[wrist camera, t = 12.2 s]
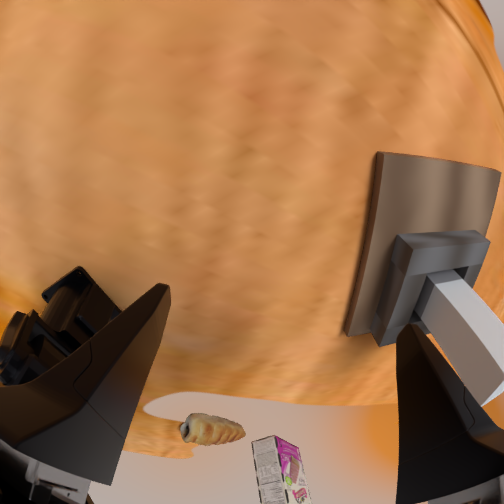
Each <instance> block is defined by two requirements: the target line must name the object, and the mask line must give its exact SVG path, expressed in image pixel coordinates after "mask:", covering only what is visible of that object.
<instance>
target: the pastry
mask: <svg viewBox="0 0 504 504" xmlns="http://www.w3.org/2000/svg"><path fill="white" fill-rule="evenodd" d="M180 431H181V436H182V439H183V441H184V442H185V443H189V442H192V443H196V444H199V445H205V446H210V445H212V444H215V445H219V444H225V443H227V442H233V441H236V440H239V439H241V438H243V437H244V436H245V435H246V433H245V431H244V429H243V428H242V426H241V425H240V424H238V423H235V422H234V421H230V420H228V419H225V418H221V417H218V416H209V415H207V414H204V413H192V414H190V415H189V416H188V417H187V419H186V421H185V423H184V424H182V425H181V427H180Z"/></svg>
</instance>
